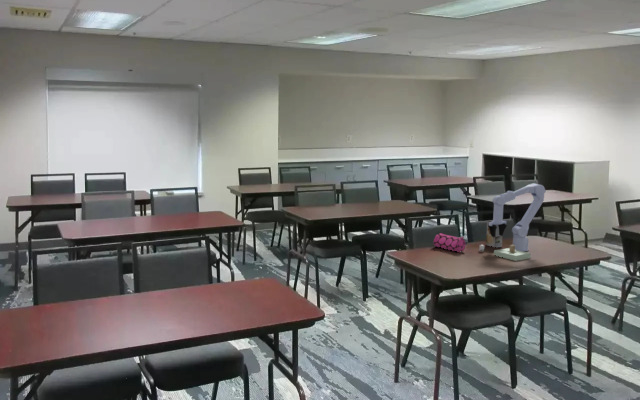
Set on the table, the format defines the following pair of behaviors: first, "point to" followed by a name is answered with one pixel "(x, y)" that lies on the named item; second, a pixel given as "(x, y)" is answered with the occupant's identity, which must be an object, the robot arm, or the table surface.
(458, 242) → the pink foam roller
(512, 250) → the long pin
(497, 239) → the coffee box
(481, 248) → the short pin
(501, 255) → the board
